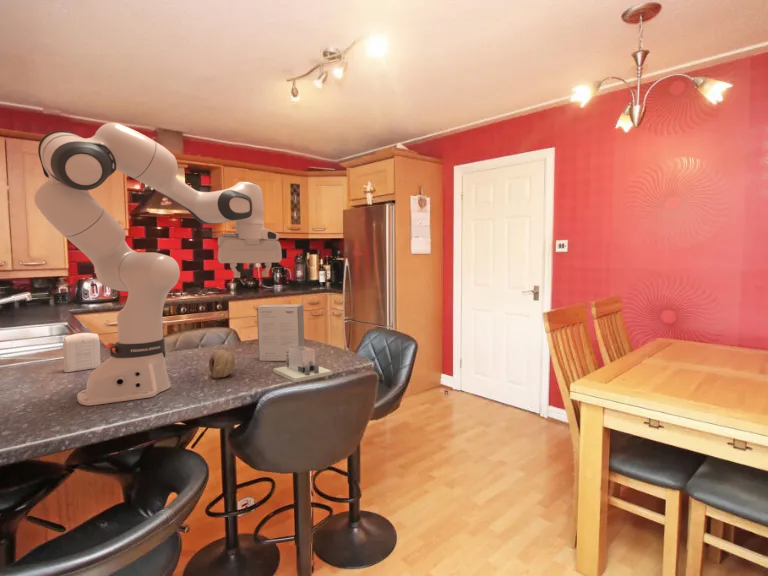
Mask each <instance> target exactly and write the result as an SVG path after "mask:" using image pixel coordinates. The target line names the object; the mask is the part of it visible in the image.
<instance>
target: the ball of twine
mask: <svg viewBox="0 0 768 576" xmlns="http://www.w3.org/2000/svg"><path fill="white" fill-rule="evenodd" d="M235 367H236V358H235V356H234V354H233V353H232V351H231V350H230V348H229V347H228V346H223V347H222V348H221V349H220V350H216V351H214V353H213V354H211V356H210V359H209V361H208V368H209V369H208V370H209V372H210V377H211V378H214V379H221V378H225V377H228V376H230V374H231V373H232V372H233V371H234V369H235Z"/></svg>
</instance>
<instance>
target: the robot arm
mask: <svg viewBox="0 0 768 576" xmlns="http://www.w3.org/2000/svg"><path fill="white" fill-rule="evenodd" d="M37 147H38V148H37V153H38V158H39V161H40V163H41V168H42V172H43V174H44V176H45V177H46V178H48V179H47V181H46V182H44V183H43V184H42V185H40V186H39V187H38V189H37V190H36V192H35V194H34V197H33V199H34V204H35V206H36V207H37V209H38V210H39V212H40V213H41V214H42V215H43V217H45V218H46V220H47V221H48V222H49V223H50V224H51V225H52V226H53V227H54V228H55V229H56V230H57V231H58V232H59V233H60V234H61V235H62V236H64V237H65V238H66V239H67V240H68V241H69V242H71V244H72V245H74V247H76V248H77V250H79V251H81V252H82V253H83V254H84V255H85V256H86V257H87V258H88V259H89V261H90V262H91V263H92V265H93V266H94V268H95V276H96V279H97V280H98V282H99V283H100V284H101V285H102V286H104V287H106V288H108V289H111V290H115V291H118V292H128V293H127V299H126V302H125V304H124V307H122V308H121V309H120V310H119V311H118V313H117V317H116V320H117V342H115V343H112V342H108V343H107V344H106V345H105V348H106V350H107V351H109V355H110V357H109V358H107V359H106V360H105V361H104V362H102V363H101V365H100V366H99V367H97V368H94V369H93V370H92V371H91V372H90V373H89V375H88V378H87V382H86V389H83V390H81V391H79V392H78V393H77V395H76V396H77V398H76V399H77V402H78V403H79V404H80V405H82V406H83V405H84V406H97V405H103V404H111V403H118V402H124V401H133V400H139V399H145V398H153V397H155V396H156V395H158V394H159V393H161V392H163V391H167V390H168V389H169V388H171V386H172V383H171V381H170V378H169V375H168V372H167V366H166V359H165V358H166V350H167V349H166V341H165V338H164V335H163V334H164V333H163V332H164V330H163V313H164V308H165V307H164V306H165V302H166V300H167V298H168V295H169V293H170V291H171V290H172V289H173V288H174V287H175V286H176V285H177V284H178V282H179V279H180V276H181V270H180V267H179V263H178V262H177V260H176V259H174V257H171V256H170V255H166V254H163V253H159V252H154V251H153V252H151V251H150V252H143V251H142V252H140V251H139V252H138V251H135V250H133V249H132V248H131V247H130V246H129V245H128V243H127V241H126V230H125V228H124V227H122V225H121V224H120V223H119V222H118V221H117V220H115V218H114V217H113V216H112V215H111V214H110V213H109V212H108V211H107V210H106V209H105V208H104V207H103V206H102V205H101V204H100V203H99V202H98V201H97V200H96V199H95V198H94V197H93V196H92V194H91V193H90V190H94V189H97V188H98V187H99V186H101V185H102V184H103V183H104V182H106V180H107V179H108V178H109V177H110V176H112V175H113V174H114V173H115V172H116V171H118V172H120V173H123V174H124V175H126V176H128V177H130V178H132V179H134V180H136V181H138V182H139V183H142V184H144V185H146V186H147V187H149V188H152V189H154V190H155V192H157V193H159V194H161V195H162V196H164V197H166V198H167V199H169V200H171V201H172V202H174V203H176V204H177V205H179V206H181V207H182V208H183V209H185V210H187V211H188V213H189V214H191V216H192V217H193V218H194V220H196V221H197V222H198V223H200V224H202V225H205V226H210V225H215V224H220V223H221V224H223V223H231V222H232V223H233V222H235V233H225V232H224V233H222V234H220V235H219V236H218V237H217V245H218V252H217V260H218V262H219V263H220V264H229V267H230V269H231V271H232V272H233V278H235V279H236V278H237V279H238V278H241V271H238V270H237V268H236V267H237V266H238V264H247V263H248V264H250V263H252V264H253V263H255V264H259V263H261V264H262V263H264V266H265V269H264V270H262V271H261V276H262V277H264V278H265V277H267V278H268V277H269V271H270V270H271V268H272V263H280V262H281V261H282V259H283V253H282V246H281V243H280V241H279V239H280V234H279V233H277V232H275V231H272V230H269V229H268V228H265V222H264V213H265V205H264V196H263V195H264V194H263V190H262V188H261V187H260V185H258V184H257V183H254V182H251V181H245V180H244V181H238V182H237V183H236V184H234V185H233V186H231V187H227V188H226V189H225V188H224V189H222V190H216V191H209V192H208V191H199V190H196V189H194V188H193V187H191V186H190V185H189V184H187V183H185V181H183V180H182V179H179V178H178V177H177V174H178V169H179V167H178V161H177V158H176V156H175V155H174V154H173V153H172V152H170V150H169V149H167V148H166V147H165V146H164V145H162V144H160V143H159V142H157V141H155V140H154V139H152V138H150V137H149V136H147V135H145V134H143V133H141V132H139V131H136V130H135V129H133V128H131V127H129V126H126V125H124V124H121V123H118V122H107V123H104V124H103V125H101V126H100V127H99V128H98V129H97V130H96V131H95V134H94V135H92V136H91V137H86V138H84V137H82V136H80V135H78V134H76V133H74V132H71V131H68V130H55V131H51V132H49V133H47V134H45V135H44V136H43V137H42V138H41V140H40V141H39V144H38V146H37Z"/></svg>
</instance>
